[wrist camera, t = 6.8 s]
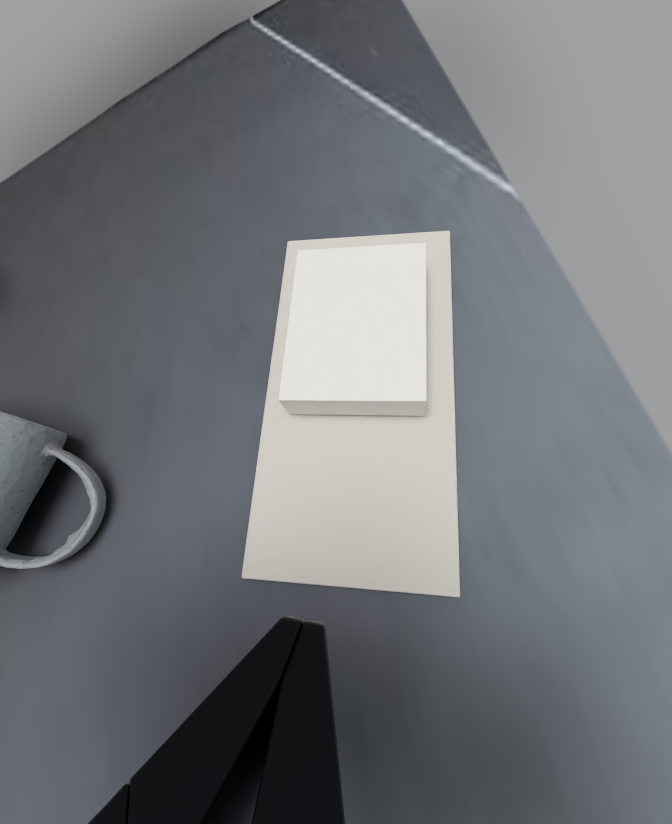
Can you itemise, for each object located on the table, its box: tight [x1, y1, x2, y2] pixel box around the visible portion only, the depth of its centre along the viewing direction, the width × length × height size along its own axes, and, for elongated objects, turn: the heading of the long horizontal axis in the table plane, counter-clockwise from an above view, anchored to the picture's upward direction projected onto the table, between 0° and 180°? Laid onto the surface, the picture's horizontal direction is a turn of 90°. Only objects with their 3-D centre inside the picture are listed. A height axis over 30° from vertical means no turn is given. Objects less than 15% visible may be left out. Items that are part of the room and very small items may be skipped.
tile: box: [279, 243, 426, 416], centre depth 22 cm, size 2×7×9 cm
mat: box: [241, 231, 460, 597], centre depth 22 cm, size 20×10×1 cm, turn 176°
